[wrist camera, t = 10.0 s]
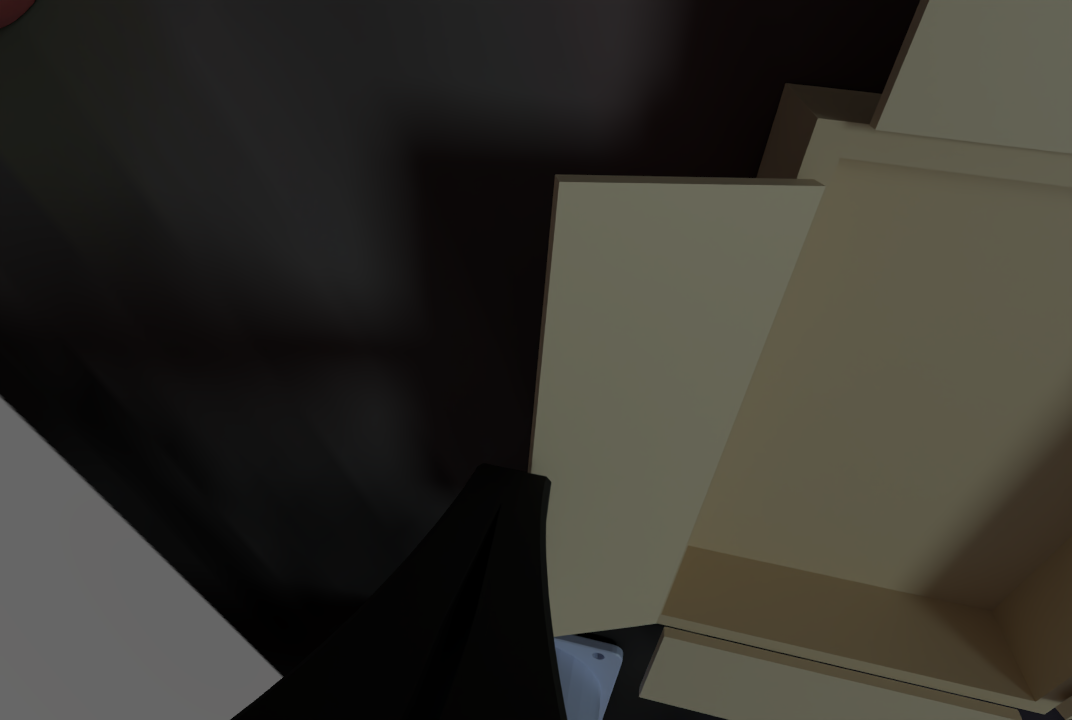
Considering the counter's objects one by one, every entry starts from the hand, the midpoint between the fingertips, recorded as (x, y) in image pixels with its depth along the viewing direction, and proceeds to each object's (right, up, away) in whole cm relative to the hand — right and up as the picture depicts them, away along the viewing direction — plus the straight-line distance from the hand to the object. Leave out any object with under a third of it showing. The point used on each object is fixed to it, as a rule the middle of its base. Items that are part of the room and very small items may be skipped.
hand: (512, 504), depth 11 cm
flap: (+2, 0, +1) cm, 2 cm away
